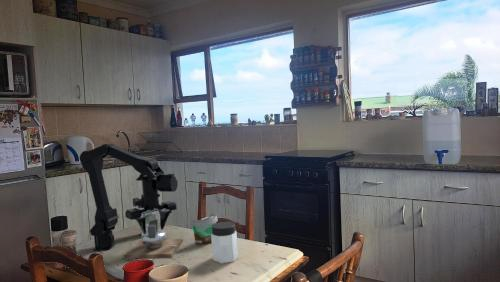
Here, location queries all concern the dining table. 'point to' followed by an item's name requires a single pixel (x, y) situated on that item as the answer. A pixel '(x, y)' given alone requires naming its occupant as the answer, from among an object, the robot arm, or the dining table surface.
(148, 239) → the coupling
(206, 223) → the food container
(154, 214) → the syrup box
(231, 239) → the jar
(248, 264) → the dining table surface
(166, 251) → the brown flat slab
